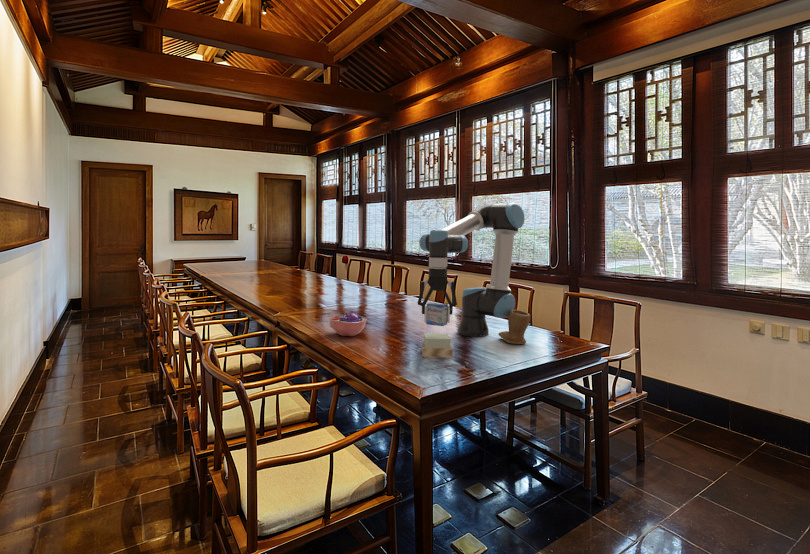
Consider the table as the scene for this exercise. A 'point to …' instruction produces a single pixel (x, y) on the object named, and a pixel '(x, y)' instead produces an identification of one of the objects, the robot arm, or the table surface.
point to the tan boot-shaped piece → (516, 327)
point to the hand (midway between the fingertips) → (436, 322)
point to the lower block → (436, 352)
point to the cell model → (348, 324)
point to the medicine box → (437, 314)
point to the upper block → (437, 341)
